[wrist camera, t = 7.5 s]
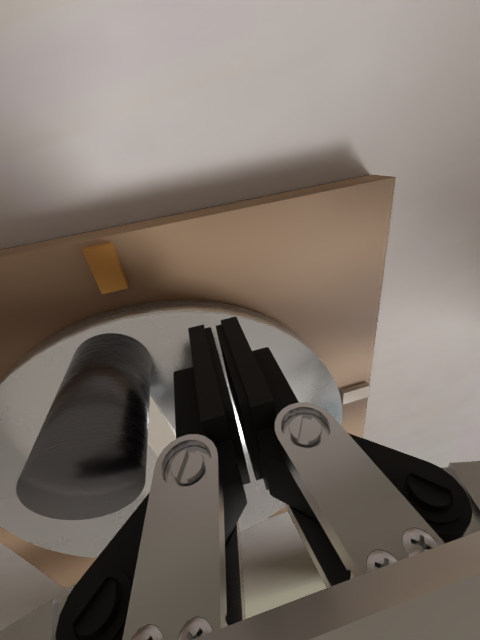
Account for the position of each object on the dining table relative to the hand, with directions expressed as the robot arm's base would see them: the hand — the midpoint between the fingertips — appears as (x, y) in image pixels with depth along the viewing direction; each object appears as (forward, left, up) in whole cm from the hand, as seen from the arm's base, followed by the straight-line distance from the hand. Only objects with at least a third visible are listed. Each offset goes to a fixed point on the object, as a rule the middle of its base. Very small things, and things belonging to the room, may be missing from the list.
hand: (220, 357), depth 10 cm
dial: (-7, +3, -2) cm, 8 cm away
